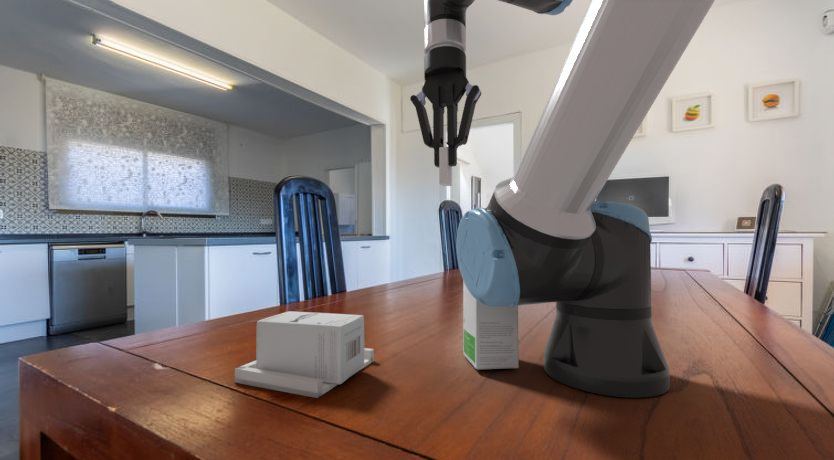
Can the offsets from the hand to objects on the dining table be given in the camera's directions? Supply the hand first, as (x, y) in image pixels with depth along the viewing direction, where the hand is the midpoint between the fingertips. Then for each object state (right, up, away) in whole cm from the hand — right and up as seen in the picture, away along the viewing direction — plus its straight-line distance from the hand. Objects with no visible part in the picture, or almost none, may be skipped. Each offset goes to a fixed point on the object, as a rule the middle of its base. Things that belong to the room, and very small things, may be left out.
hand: (445, 184), depth 64 cm
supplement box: (-13, -24, -17) cm, 32 cm away
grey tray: (-20, -28, -13) cm, 37 cm away
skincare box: (+6, -28, -11) cm, 31 cm away
